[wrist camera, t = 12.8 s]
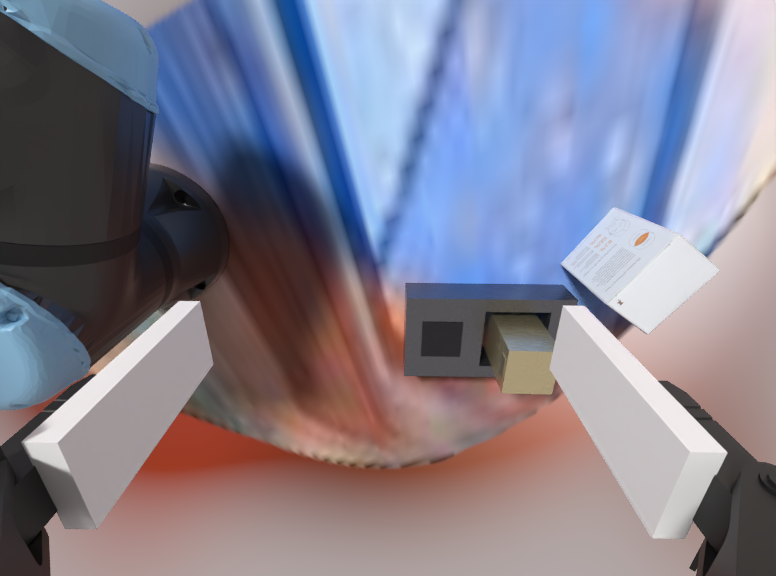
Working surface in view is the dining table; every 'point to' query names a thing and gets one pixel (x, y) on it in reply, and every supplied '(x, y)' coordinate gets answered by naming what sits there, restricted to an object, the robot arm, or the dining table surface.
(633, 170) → the dining table surface
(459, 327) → the grey square hole block
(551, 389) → the beige square peg
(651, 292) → the small box
